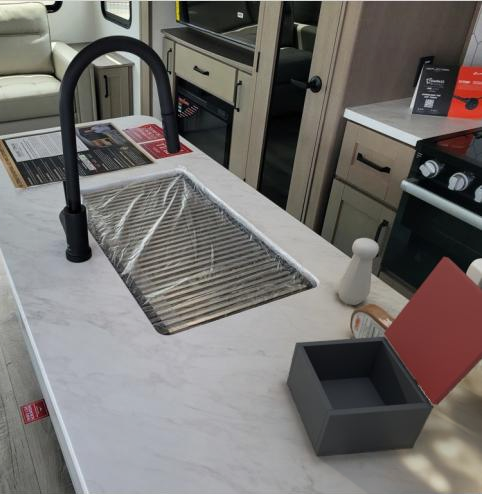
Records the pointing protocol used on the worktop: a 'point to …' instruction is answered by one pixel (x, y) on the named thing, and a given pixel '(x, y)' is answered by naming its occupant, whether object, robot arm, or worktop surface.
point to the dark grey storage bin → (356, 396)
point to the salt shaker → (358, 272)
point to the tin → (371, 323)
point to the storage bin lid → (440, 330)
